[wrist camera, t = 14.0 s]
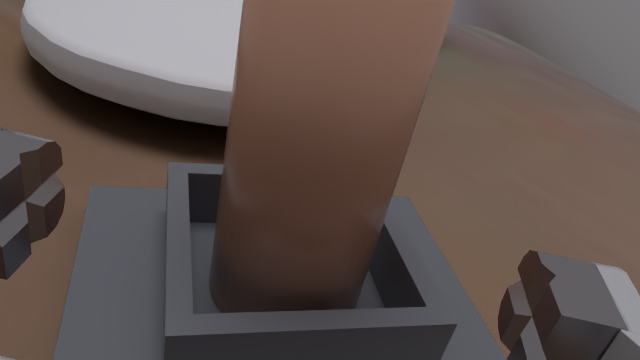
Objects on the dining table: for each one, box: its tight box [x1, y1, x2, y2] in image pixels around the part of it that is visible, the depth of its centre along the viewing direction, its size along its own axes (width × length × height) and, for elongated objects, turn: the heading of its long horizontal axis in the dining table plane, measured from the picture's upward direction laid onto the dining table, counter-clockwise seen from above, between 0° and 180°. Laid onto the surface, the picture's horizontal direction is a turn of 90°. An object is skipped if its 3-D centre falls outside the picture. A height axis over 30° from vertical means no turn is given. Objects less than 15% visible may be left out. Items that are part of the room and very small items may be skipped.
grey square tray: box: [53, 162, 507, 360], centre depth 21 cm, size 16×13×4 cm
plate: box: [20, 0, 243, 126], centre depth 41 cm, size 28×6×27 cm
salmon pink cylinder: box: [209, 0, 456, 313], centre depth 18 cm, size 6×6×14 cm
